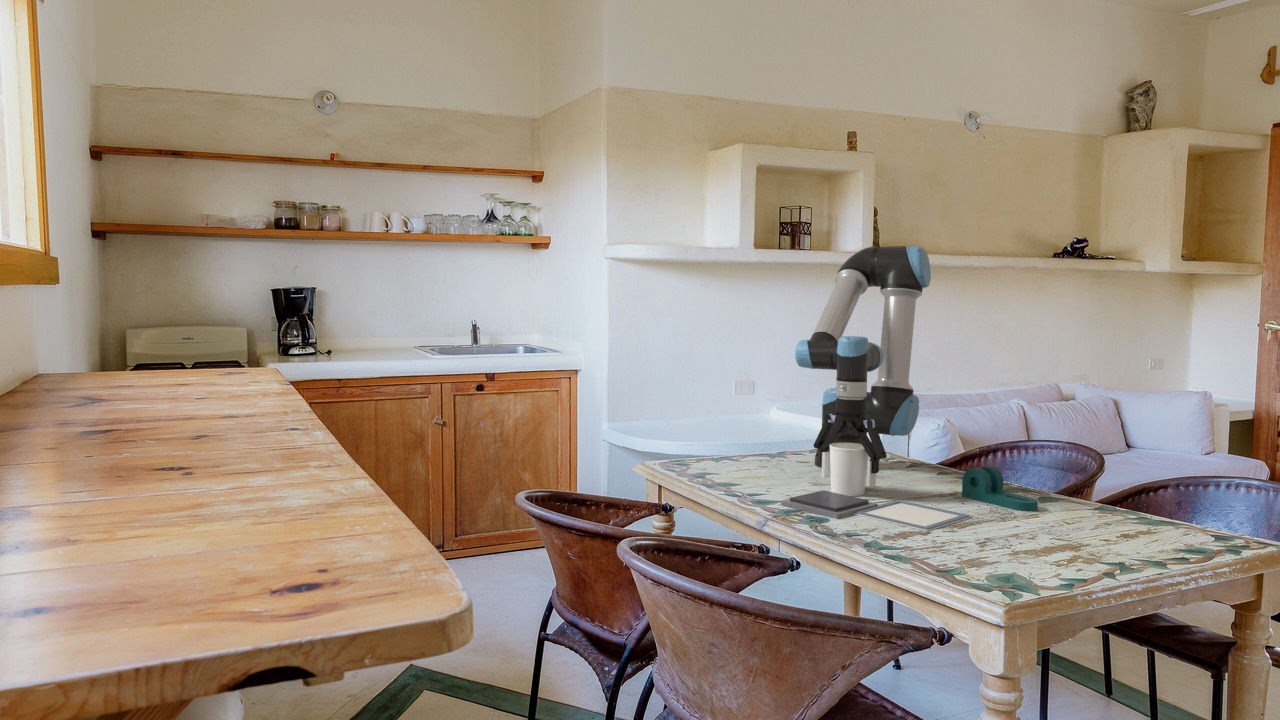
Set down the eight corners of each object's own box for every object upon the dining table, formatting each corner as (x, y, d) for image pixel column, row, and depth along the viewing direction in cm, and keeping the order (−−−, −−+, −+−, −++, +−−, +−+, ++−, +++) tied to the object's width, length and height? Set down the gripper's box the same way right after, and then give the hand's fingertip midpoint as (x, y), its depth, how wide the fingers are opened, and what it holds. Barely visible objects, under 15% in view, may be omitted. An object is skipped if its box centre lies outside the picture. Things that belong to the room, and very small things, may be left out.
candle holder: (864, 489, 229) (866, 443, 228) (870, 497, 219) (872, 449, 218) (825, 487, 230) (827, 441, 229) (830, 496, 220) (831, 448, 219)
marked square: (897, 501, 215) (897, 499, 215) (971, 517, 201) (971, 515, 201) (852, 513, 203) (852, 511, 203) (927, 531, 189) (927, 529, 189)
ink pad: (821, 495, 220) (822, 488, 220) (877, 507, 209) (877, 500, 208) (780, 505, 210) (780, 497, 210) (836, 518, 198) (837, 510, 198)
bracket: (961, 497, 222) (963, 466, 222) (979, 494, 226) (981, 464, 225) (1025, 513, 207) (1026, 480, 206) (1043, 510, 210) (1045, 477, 210)
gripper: (801, 393, 229) (799, 474, 231) (885, 404, 211) (882, 492, 212) (819, 392, 234) (816, 471, 236) (903, 401, 216) (899, 487, 217)
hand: (847, 481), depth 224 cm, fingers open, 13 cm apart
